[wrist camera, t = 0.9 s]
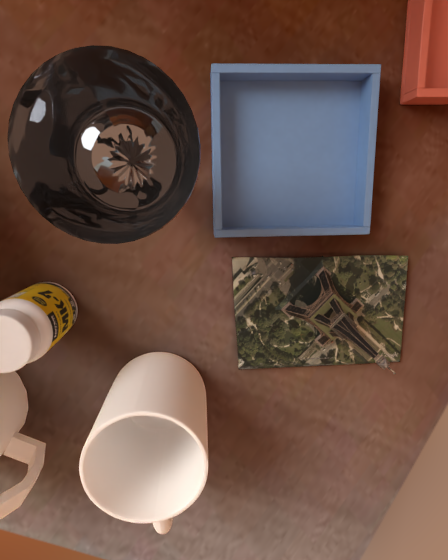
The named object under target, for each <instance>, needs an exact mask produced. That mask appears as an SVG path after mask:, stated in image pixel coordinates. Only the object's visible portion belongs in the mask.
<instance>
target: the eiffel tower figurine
mask: <svg viewBox="0 0 448 560" xmlns="http://www.w3.org/2000/svg"><path fill="white" fill-rule="evenodd" d="M407 265H408V256H387V255H357V256H337V257H324V256H322V257H311V258H259V257H232V268H233V290H234V309H235V322H236V333H237V346H238V368H239V369H259V368H280V367H301V366H323V365H344V364H364V363H376V364H378V365H379V366H380V367H381V368H383V369H384V370H385V369H386V368H388V369H390V370H391V371H392V372H393V373H394V374H396V373H395V372H394V371H393V370H392V369H391V368H389V367H388V366H389V365H390V363H389V362H400V354H401V341H402V328H403V316H404V303H405V291H406V278H407Z"/></svg>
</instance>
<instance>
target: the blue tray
mask: <svg viewBox="0 0 448 560" xmlns="http://www.w3.org/2000/svg"><path fill="white" fill-rule="evenodd" d="M380 73H381V64H211V74H210V80H211V130H212V179H213V229H214V236H215V238H219V237H268V236H316V235H364V234H370V224H371V209H372V193H373V178H374V163H375V148H376V133H377V118H378V103H379V88H380Z"/></svg>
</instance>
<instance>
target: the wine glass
mask: <svg viewBox="0 0 448 560" xmlns="http://www.w3.org/2000/svg"><path fill="white" fill-rule="evenodd" d="M8 148H9V157H10V160H11V164H12V168H13V172H14V174H15V177H16V179H17V181H18V183H19V186H20V188H21V190H22V191H23V193H24V194H25V196H26V197H27V199H28V200H29V202H30V203H31V204H32V206H33V207H34V208H35V209H36V210H37V211H38V212H39V213H40V214H41V215H42V216H43V217H44V218H45V219H46V220H48V221H49V222H50V223H51V224H53V225H54V226H55V227H57V228H59V229H61V230H62V231H64V232H66V233H68V234H69V235H72V236H75V237H77V238H80V239H83V240H86V241H91V242H96V243H107V244H118V243H125V242H131V241H135V240H138V239H141V238H144V237H147V236H149V235H151V234H153V233H155V232H156V231H158V230H160V229H162V228H163V227H164V226H166V225H167V224H168V223H169V222H170V221H172V220H173V219H174V218H175V217H176V216H177V215H178V214H179V213H180V211H181V210H182V209H183V208H184V207H185V205H186V203H187V202H188V200H189V198H190V197H191V195H192V193H193V190H194V187H195V185H196V182H197V179H198V174H199V169H200V152H201V147H200V140H199V133H198V128H197V125H196V122H195V119H194V116H193V113H192V110H191V108H190V106H189V104H188V103H187V101H186V99H185V97H184V95H183V94H182V92H181V91H180V90H179V88H178V87H177V86H176V84H175V83H174V82H173V80H172V79H171V78H170V77H169V76H167V75H166V74H165V73H164V72H163V71H162V70H161V69H160V68H159V67H157V66H156V65H154V64H153V63H151V62H150V61H148V60H147V59H145V58H144V57H141V56H139V55H137V54H135V53H132V52H130V51H128V50H124V49H119V48H115V47H111V46H86V47H79V48H74V49H71V50H68V51H66V52H63V53H60V54H58V55H56V56H54V57H53V58H51V59H49V60H48V61H46V62H44V63H43V64H42V65H41V66H40V67H39V68H38V69H37V70H36V71H34V72H33V73H32V74H31V75H30V77H29V78H28V79H27V81H26V82H25V84H24V85H23V86H22V88H21V89H20V91H19V94H18V96H17V98H16V100H15V102H14V104H13V108H12V112H11V115H10V119H9V128H8Z"/></svg>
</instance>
